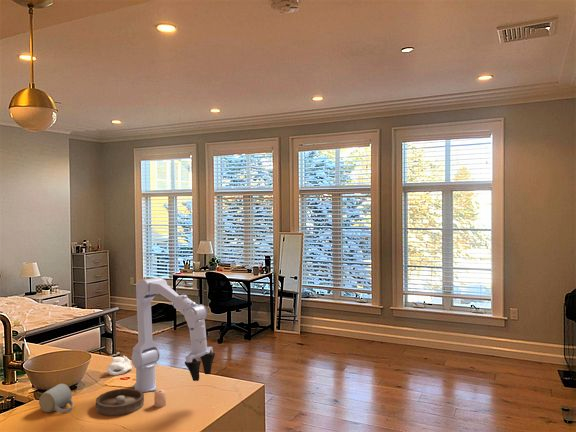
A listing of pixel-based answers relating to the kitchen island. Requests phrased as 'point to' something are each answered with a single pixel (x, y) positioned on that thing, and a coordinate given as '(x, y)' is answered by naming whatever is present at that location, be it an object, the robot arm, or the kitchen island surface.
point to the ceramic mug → (56, 399)
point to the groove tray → (112, 402)
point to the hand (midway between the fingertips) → (202, 377)
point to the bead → (160, 398)
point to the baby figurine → (119, 365)
